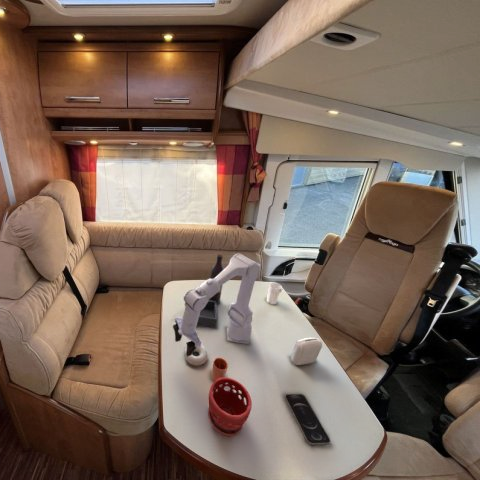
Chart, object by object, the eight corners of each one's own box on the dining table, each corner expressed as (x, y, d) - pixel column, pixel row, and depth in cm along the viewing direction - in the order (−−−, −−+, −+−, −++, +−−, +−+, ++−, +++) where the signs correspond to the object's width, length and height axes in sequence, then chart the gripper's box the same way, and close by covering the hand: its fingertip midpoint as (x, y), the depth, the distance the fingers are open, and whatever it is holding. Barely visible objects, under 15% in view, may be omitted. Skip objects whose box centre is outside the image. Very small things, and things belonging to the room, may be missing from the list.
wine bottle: (206, 304, 131) (212, 257, 119) (207, 296, 138) (213, 251, 125) (219, 306, 130) (226, 259, 117) (220, 298, 136) (227, 253, 123)
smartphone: (303, 394, 86) (332, 442, 73) (303, 395, 87) (331, 444, 73) (284, 394, 86) (308, 443, 73) (283, 395, 87) (308, 445, 73)
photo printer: (295, 366, 97) (303, 345, 92) (288, 357, 101) (296, 337, 96) (316, 363, 99) (326, 342, 94) (309, 354, 103) (317, 334, 97)
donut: (182, 365, 97) (207, 369, 95) (183, 359, 96) (207, 363, 94) (185, 345, 106) (207, 349, 104) (185, 339, 105) (208, 343, 103)
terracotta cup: (224, 372, 94) (227, 359, 91) (225, 385, 90) (228, 371, 86) (211, 370, 95) (213, 356, 92) (211, 382, 91) (213, 368, 87)
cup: (262, 299, 136) (266, 283, 131) (270, 296, 138) (275, 281, 134) (271, 306, 131) (276, 290, 126) (280, 303, 133) (285, 287, 128)
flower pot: (248, 444, 73) (255, 422, 68) (205, 435, 75) (209, 413, 70) (242, 401, 85) (248, 379, 79) (205, 394, 87) (209, 372, 81)
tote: (215, 308, 128) (216, 301, 126) (215, 327, 116) (217, 319, 114) (190, 305, 130) (190, 297, 128) (188, 323, 118) (189, 315, 116)
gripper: (171, 310, 91) (165, 337, 96) (193, 336, 80) (185, 365, 85) (185, 306, 95) (179, 332, 100) (208, 331, 84) (200, 359, 88)
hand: (183, 347), depth 92 cm, fingers open, 7 cm apart
